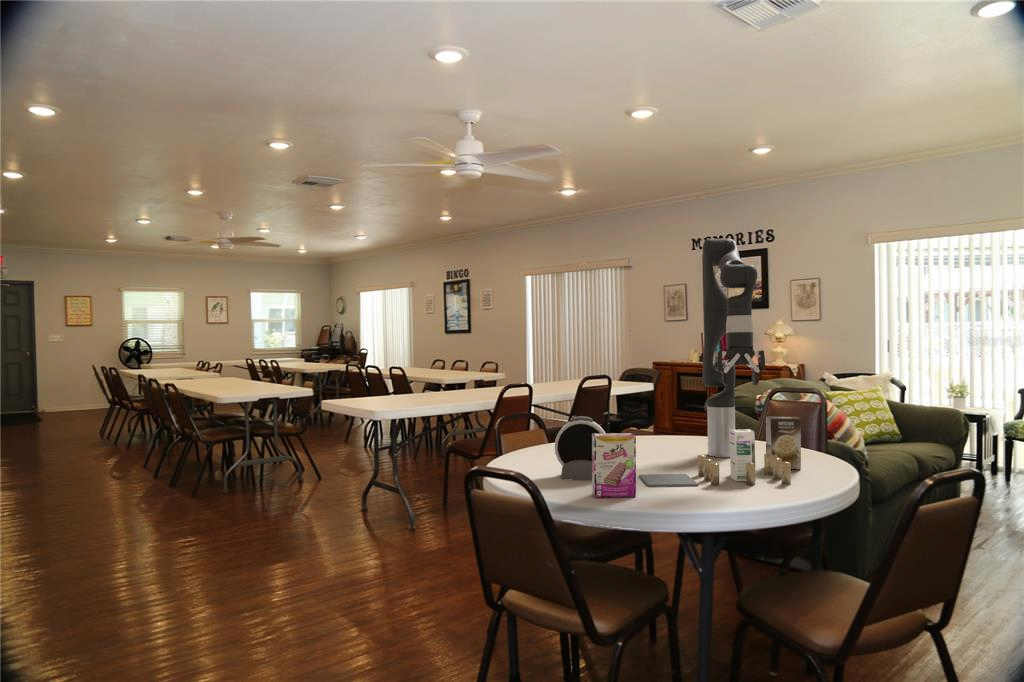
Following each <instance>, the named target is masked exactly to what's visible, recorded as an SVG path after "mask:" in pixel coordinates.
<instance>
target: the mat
mask: <svg viewBox="0 0 1024 682" xmlns="http://www.w3.org/2000/svg"><path fill="white" fill-rule="evenodd" d="M638 478H640V479H641V480H642V482H643V483H644V482H645V483H646V484H647V485H648V486H670V487H699V483H698V482H697V481H695V480H694V479H692V477H690V476H689V475H687V474H686V473H662V474H661V473H658V474H657V473H655V474H651V473H650V474H645V473H644V474H638ZM645 483H644V484H645ZM646 484H645V485H646ZM647 485H646V486H647ZM648 486H647V487H648Z"/></svg>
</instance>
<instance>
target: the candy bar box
mask: <svg viewBox="0 0 1024 682" xmlns="http://www.w3.org/2000/svg"><path fill="white" fill-rule="evenodd" d="M636 436H637V435H635V434H634V433H621V432H620V433H606V434H592V480H591V490H592V492H591V493H592V495H593V497H594V498H597V499H598V498H600V499H601V498H603V499H604V498H606V499H607V498H610V499H611V498H636V496H637V459H636V457H637V453H636V452H637V450H636V449H637V447H636V446H637V444H636V443H637V442H636V441H637V439H636Z"/></svg>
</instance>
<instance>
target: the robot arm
mask: <svg viewBox="0 0 1024 682" xmlns="http://www.w3.org/2000/svg"><path fill="white" fill-rule="evenodd" d="M702 267H703V353H702V354H703V357H702V371H701V373H702V383H703V385H704V386H705V387H709V388H710V387H711V388H712V387H714V388H715V387H716V388H719V387H720V388H721V387H722V388H723V387H724V389H723V390H722V391H721V392H719V393H717V394H715V395H713V396H710V397H708V398H707V400H706V401H707V403H706V404H707V406H706V407H707V408H706V409H707V455H708V456H710V457H714V456H715V457H716V458H730V433H729V431H730V430H736V402H735V401H736V400H735V399H736V366H747V367H749V368H750V370H751V371H752V373H751V378H752V379H751V381H752V382H751V384H752V386H758V384H760V372H762V371H765V370H766V368H767V367H766V359H765V357H766V356H765V351H764V350H763V349H762V350H761V349H759V350H754V324H753V316H752V315H753V314H752V313H753V311H752V303H753V302H752V301H753V300H752V299H753V294H754V289H755V286H756V283H757V281H758V270H757V268H756V266H755V265H753V264H750V263H747V264H746V263H744V261H743V260H742V259H741V256H740V252H739V248H738V245H737V242H736V241H735V240H734V239H732V238H708V239H705V240H704V242H703V244H702ZM714 267H718V268H719V270H720V274H719V280H717V277H716V275H715V270H714ZM718 281H720V282H718ZM720 284H721V285H720ZM723 287H724V288H726V289H743V291H742V293H741V294H738V295H733V296H730V297H728V296H727V294H726V292H725V291H724V289H723ZM725 335H726V336H725ZM724 336H725V337H726V350H725V351H724V350H723V351H722V350H717V348H718V346H719V344H720V341H721V340H722V339H723V338H724ZM714 355H715V356H714ZM754 356H755V357H756V359H757V364H756V363H755V361H754V360H753V358H754ZM714 357H715V360H714ZM725 357H726V358H727V359H726V360H725V359H724V358H725ZM723 359H724V360H723ZM757 365H758V366H757Z"/></svg>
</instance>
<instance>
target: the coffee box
mask: <svg viewBox="0 0 1024 682" xmlns="http://www.w3.org/2000/svg"><path fill="white" fill-rule="evenodd" d="M801 423H802V418H800V417H796V416H775V415H774V416H769V415H768V416H767V415H766V416H765V454H772V455H773V458H781V462H790V466H791V469H798V470H797V471H800V470H799V469H801V470H802V430H801V429H802V424H801Z"/></svg>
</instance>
